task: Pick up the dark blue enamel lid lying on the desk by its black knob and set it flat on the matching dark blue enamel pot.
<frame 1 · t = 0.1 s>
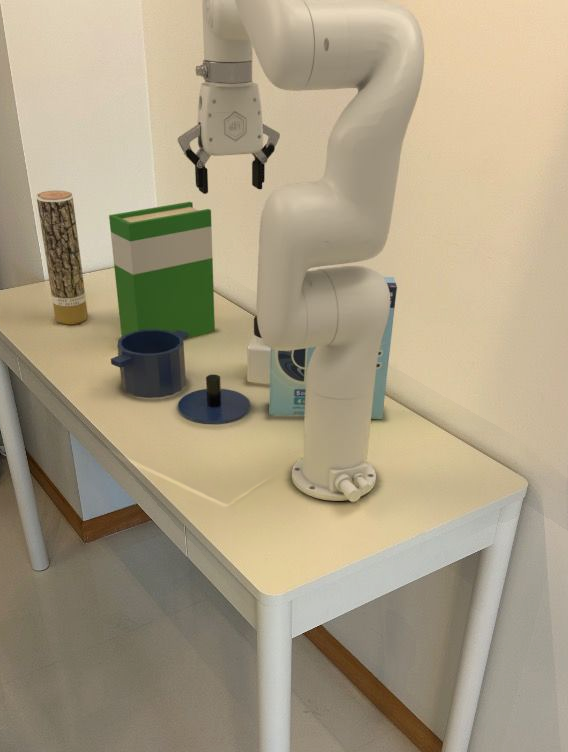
hand: (230, 189, 136), 31 cm above the table, tool pointing down, fingers open, 9 cm apart
hardback book: (168, 335, 165), on the table
lid: (214, 406, 138), point 1 cm above the table
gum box: (325, 413, 138), on the table
paper tube: (72, 320, 170), on the table
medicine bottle: (270, 378, 149), on the table
pot: (154, 386, 145), on the table
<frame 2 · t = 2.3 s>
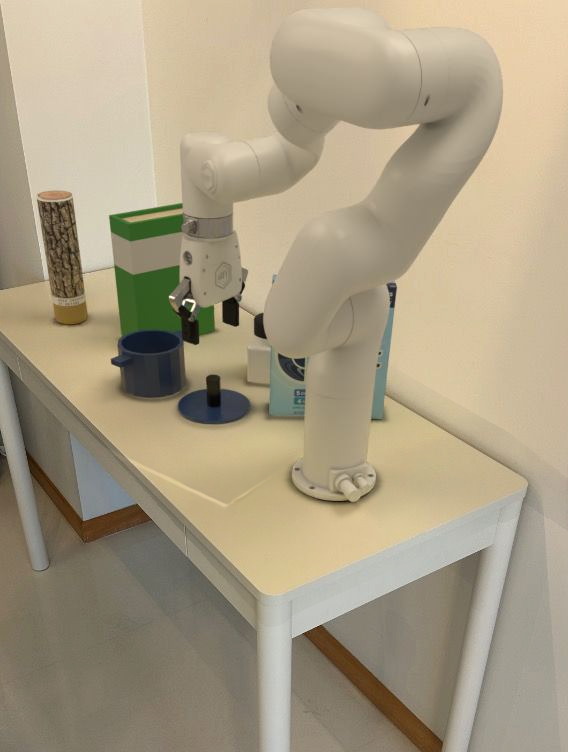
hand: (211, 333, 131), 14 cm above the table, tool pointing down, fingers open, 9 cm apart
nothing on the table moved.
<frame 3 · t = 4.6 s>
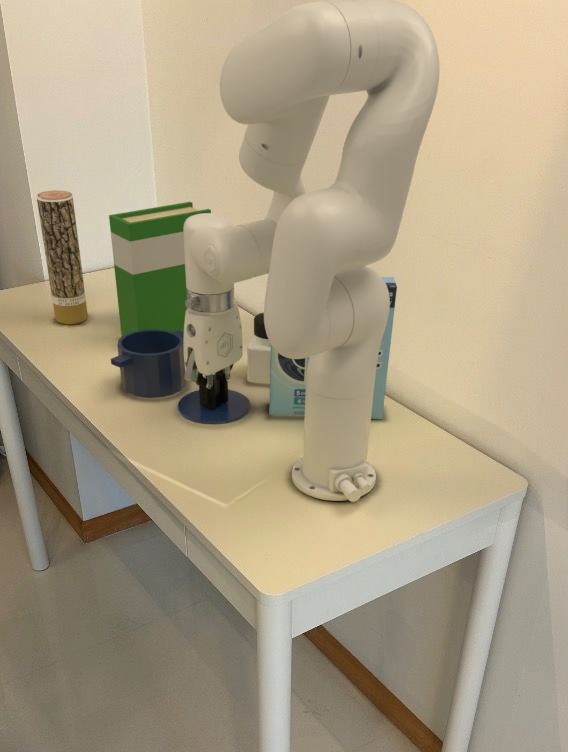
hand: (214, 402, 137), 1 cm above the table, tool pointing down, fingers closed on lid, 2 cm apart
lid: (214, 406, 138), point 1 cm above the table, touching gripper
everything else where it was.
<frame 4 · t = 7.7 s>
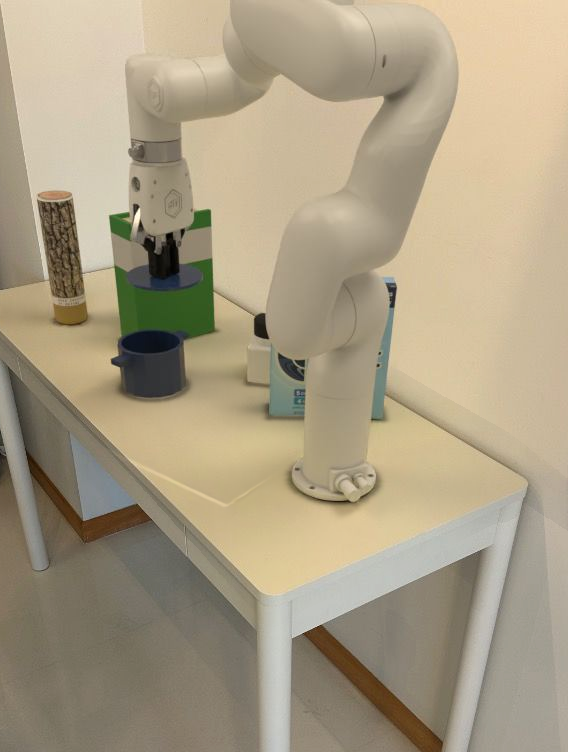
hand: (164, 273, 130), 21 cm above the table, tool pointing down, fingers closed on lid, 2 cm apart
lid: (164, 278, 131), point 21 cm above the table, touching gripper
everything else where it was.
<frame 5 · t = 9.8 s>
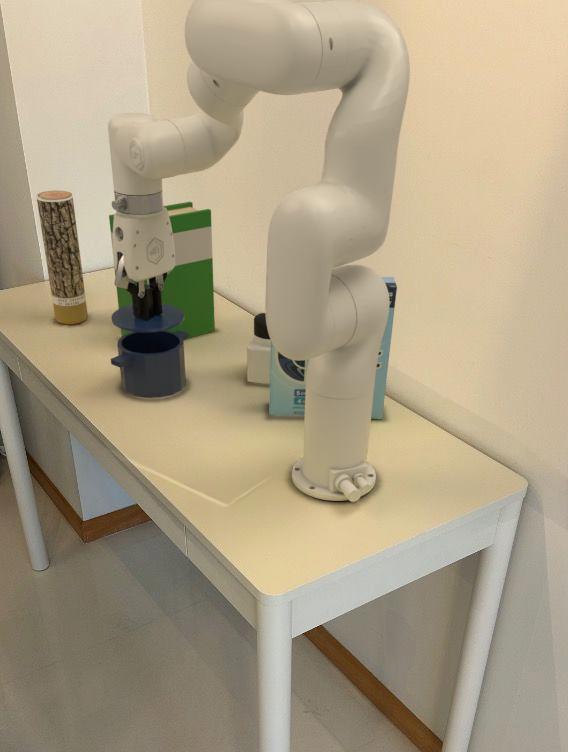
hand: (148, 314, 137), 13 cm above the table, tool pointing down, fingers closed on lid, 2 cm apart
lid: (148, 318, 138), point 13 cm above the table, touching gripper
everything else where it was.
when the fingers open (9 cm above the table, at t = 11.1 s): lid stays where it is, resting on pot.
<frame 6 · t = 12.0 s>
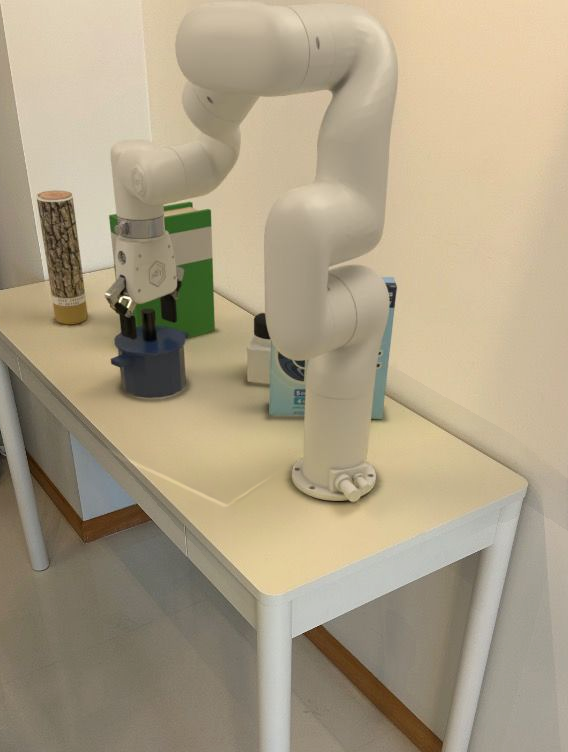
hand: (149, 328, 139), 11 cm above the table, tool pointing down, fingers open, 9 cm apart
lid: (150, 341, 140), point 8 cm above the table, touching pot
everything else where it was.
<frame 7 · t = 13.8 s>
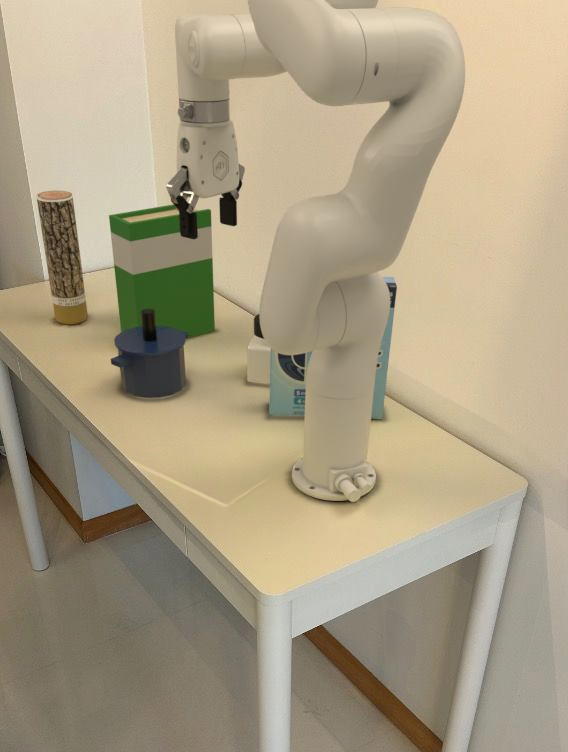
hand: (209, 231, 130), 27 cm above the table, tool pointing down, fingers open, 9 cm apart
nothing on the table moved.
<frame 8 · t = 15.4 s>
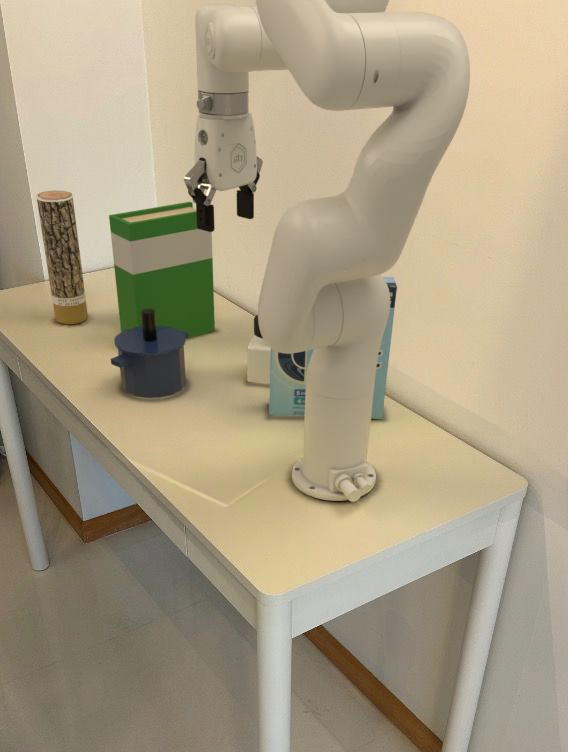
hand: (226, 223, 130), 28 cm above the table, tool pointing down, fingers open, 9 cm apart
nothing on the table moved.
at the end: lid 0.1 cm off-centre on the pot, point 8.5 cm above the pot's base; lid tilted 0°; the gripper is holding nothing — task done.
